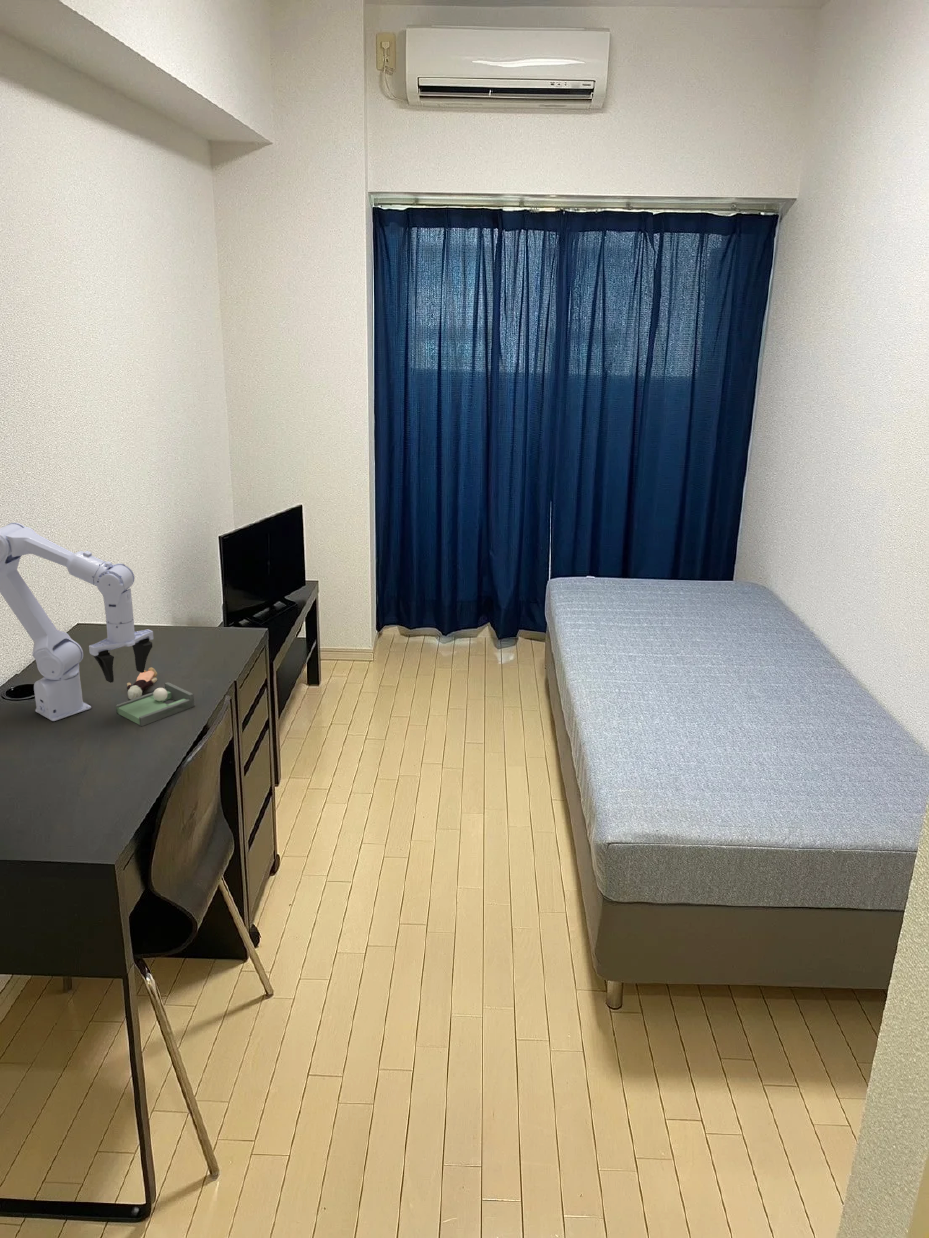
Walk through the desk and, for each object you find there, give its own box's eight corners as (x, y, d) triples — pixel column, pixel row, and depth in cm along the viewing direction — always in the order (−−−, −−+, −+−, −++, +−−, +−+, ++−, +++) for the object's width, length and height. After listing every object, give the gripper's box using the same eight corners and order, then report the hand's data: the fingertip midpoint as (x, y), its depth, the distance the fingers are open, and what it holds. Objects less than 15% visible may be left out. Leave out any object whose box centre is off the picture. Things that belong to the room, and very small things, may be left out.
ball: (170, 686, 212) (171, 700, 212) (159, 685, 213) (161, 699, 214) (159, 689, 209) (160, 703, 209) (149, 688, 210) (150, 702, 211)
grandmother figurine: (141, 685, 227) (123, 709, 215) (133, 672, 226) (114, 695, 214) (167, 673, 226) (151, 697, 214) (159, 661, 225) (142, 684, 213)
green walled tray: (141, 726, 203) (140, 713, 202) (116, 713, 209) (115, 700, 207) (194, 706, 213) (193, 693, 212) (169, 694, 219) (168, 682, 218)
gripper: (98, 632, 193) (105, 690, 197) (159, 616, 203) (163, 672, 208) (81, 624, 197) (88, 681, 201) (141, 608, 207) (146, 663, 212)
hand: (125, 676), depth 205 cm, fingers open, 7 cm apart
